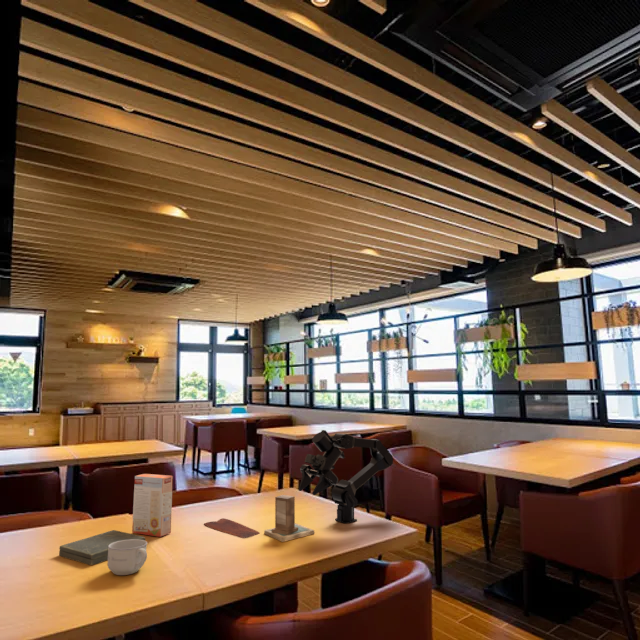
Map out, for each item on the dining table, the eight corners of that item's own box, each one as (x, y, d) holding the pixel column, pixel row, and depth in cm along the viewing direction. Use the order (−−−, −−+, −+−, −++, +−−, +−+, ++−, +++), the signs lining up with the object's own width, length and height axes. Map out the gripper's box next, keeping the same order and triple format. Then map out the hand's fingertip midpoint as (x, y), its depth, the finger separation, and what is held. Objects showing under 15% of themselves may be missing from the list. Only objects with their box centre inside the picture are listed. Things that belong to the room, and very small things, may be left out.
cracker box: (171, 533, 174) (173, 475, 177) (160, 538, 169) (162, 478, 172) (143, 528, 180) (145, 472, 183) (131, 533, 174) (133, 475, 177)
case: (91, 567, 143) (145, 548, 160) (92, 553, 143) (146, 535, 160) (58, 557, 152) (113, 540, 169) (59, 544, 152) (113, 528, 169)
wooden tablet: (201, 526, 184) (201, 522, 184) (223, 521, 191) (223, 516, 192) (241, 541, 166) (241, 536, 166) (264, 534, 173) (264, 529, 173)
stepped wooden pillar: (283, 527, 176) (283, 493, 177) (298, 529, 172) (298, 495, 174) (271, 531, 170) (271, 497, 172) (287, 535, 166) (286, 499, 168)
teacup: (101, 571, 138) (102, 543, 139) (137, 562, 146) (138, 534, 147) (119, 585, 128) (121, 554, 129) (157, 574, 136) (158, 545, 137)
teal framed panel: (295, 526, 181) (295, 522, 181) (314, 533, 171) (314, 530, 172) (264, 533, 172) (264, 529, 172) (282, 541, 163) (282, 537, 163)
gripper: (303, 444, 191) (280, 475, 183) (331, 448, 176) (307, 482, 168) (319, 461, 195) (297, 493, 187) (347, 467, 180) (325, 502, 172)
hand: (306, 492), depth 178 cm, fingers open, 9 cm apart
